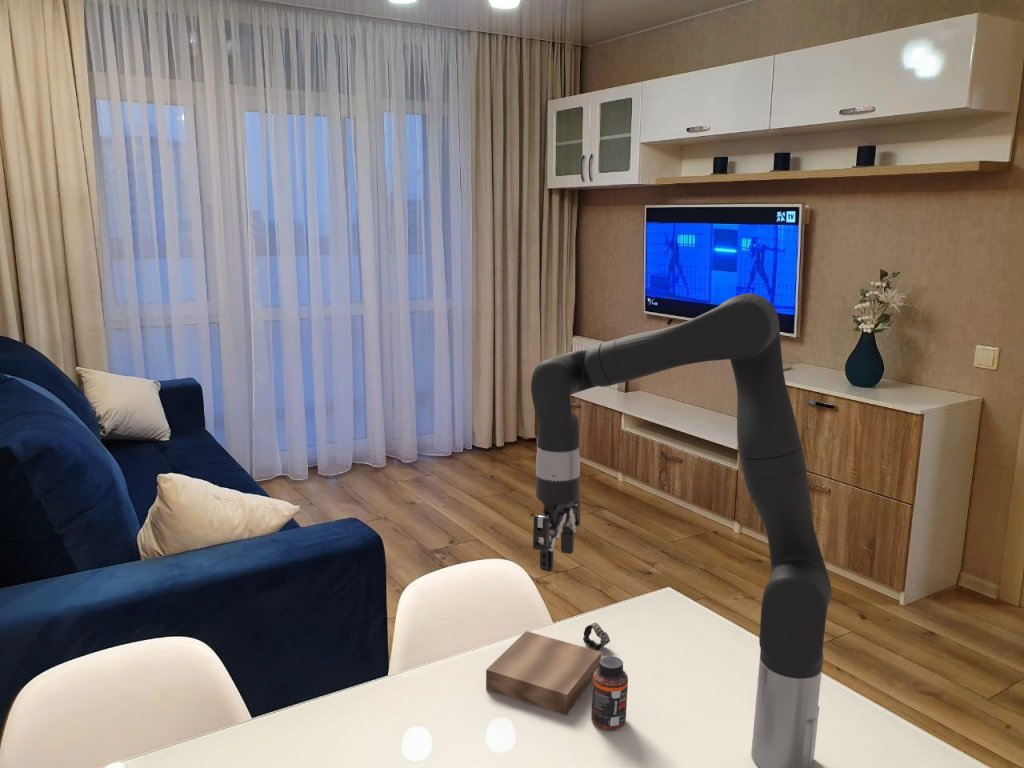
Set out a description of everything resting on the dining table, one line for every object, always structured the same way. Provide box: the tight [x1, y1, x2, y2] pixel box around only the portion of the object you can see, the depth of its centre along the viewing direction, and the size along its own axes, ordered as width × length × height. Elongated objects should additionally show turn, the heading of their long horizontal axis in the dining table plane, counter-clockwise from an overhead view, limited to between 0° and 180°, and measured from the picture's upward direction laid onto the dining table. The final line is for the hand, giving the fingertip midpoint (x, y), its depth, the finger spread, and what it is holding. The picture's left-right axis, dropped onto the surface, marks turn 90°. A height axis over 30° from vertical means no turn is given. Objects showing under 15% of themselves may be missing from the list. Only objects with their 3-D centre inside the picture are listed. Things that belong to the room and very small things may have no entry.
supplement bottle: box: [590, 655, 629, 731], centre depth 140 cm, size 6×6×11 cm
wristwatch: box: [582, 622, 611, 651], centre depth 165 cm, size 3×5×5 cm
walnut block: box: [485, 630, 602, 716], centre depth 152 cm, size 16×16×4 cm
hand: (557, 561), depth 143 cm, fingers open, 8 cm apart
